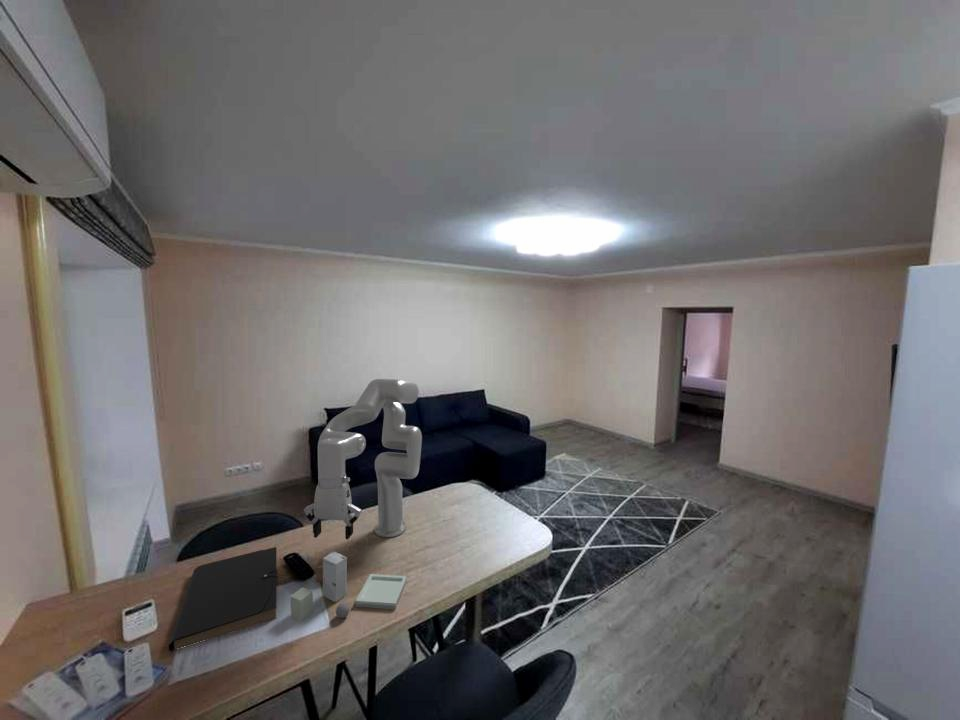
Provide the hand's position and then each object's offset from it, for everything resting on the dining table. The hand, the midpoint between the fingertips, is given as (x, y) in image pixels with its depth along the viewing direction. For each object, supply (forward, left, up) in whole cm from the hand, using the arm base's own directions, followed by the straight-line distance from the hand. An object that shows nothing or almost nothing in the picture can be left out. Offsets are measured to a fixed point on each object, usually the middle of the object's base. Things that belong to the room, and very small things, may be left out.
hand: (333, 536), depth 113 cm
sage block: (+8, -6, -19) cm, 21 cm away
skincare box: (0, 0, -19) cm, 19 cm away
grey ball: (+8, +6, -19) cm, 21 cm away
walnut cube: (-8, -7, -19) cm, 22 cm away
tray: (-2, +14, -19) cm, 24 cm away
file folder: (+3, -31, -20) cm, 37 cm away
